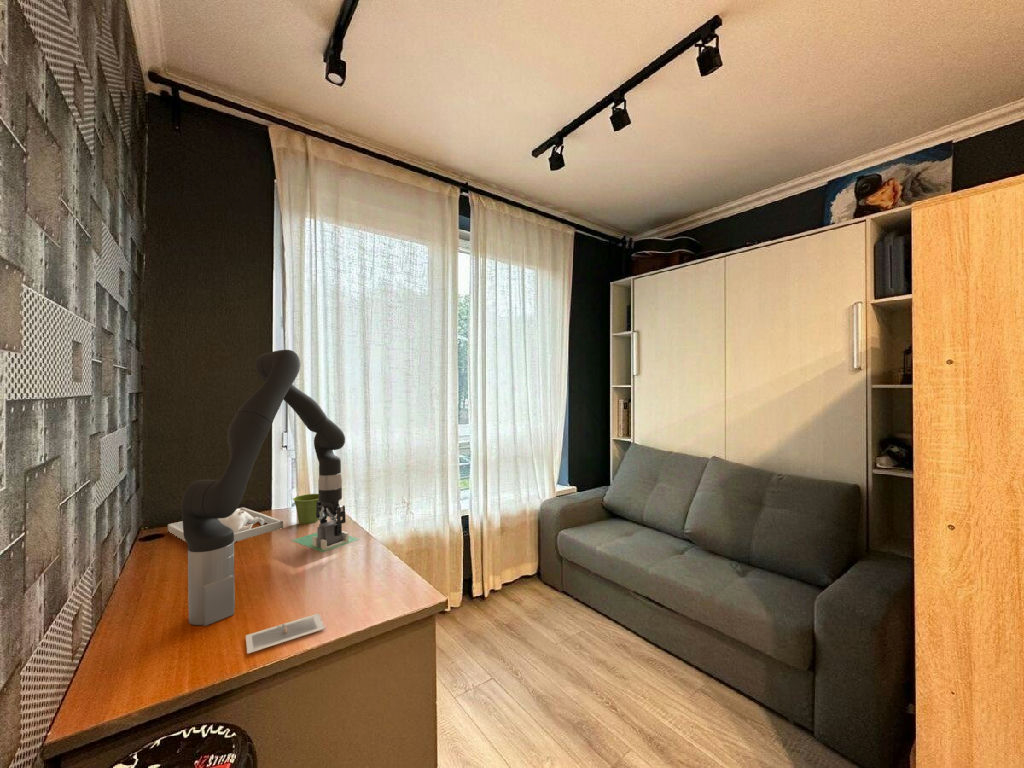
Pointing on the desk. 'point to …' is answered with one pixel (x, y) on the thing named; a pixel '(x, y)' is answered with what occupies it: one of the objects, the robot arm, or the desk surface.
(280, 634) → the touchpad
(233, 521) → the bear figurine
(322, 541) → the board
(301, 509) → the plant pot
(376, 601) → the desk surface
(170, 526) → the light grey flat tray
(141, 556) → the desk surface
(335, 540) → the plug
